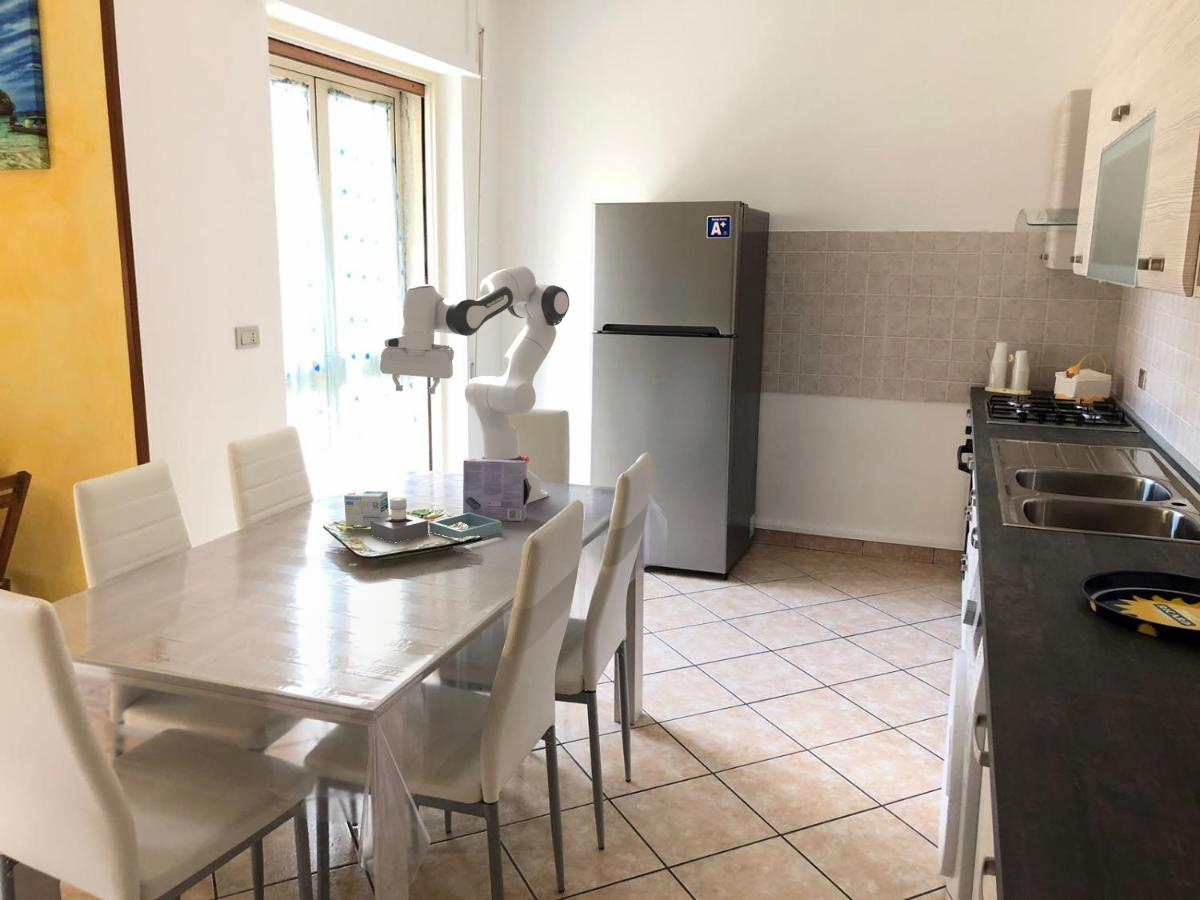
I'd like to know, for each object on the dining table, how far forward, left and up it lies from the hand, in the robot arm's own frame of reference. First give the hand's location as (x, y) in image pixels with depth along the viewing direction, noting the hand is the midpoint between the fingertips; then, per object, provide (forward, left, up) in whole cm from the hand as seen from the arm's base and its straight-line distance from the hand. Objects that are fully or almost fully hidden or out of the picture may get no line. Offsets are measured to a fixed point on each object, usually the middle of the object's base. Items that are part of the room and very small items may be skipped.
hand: (415, 392), depth 262 cm
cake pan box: (-18, +12, -38) cm, 44 cm away
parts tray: (-1, +19, -38) cm, 43 cm away
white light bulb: (+13, +8, -37) cm, 40 cm away
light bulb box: (+14, -6, -38) cm, 41 cm away
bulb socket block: (+13, +8, -38) cm, 41 cm away
